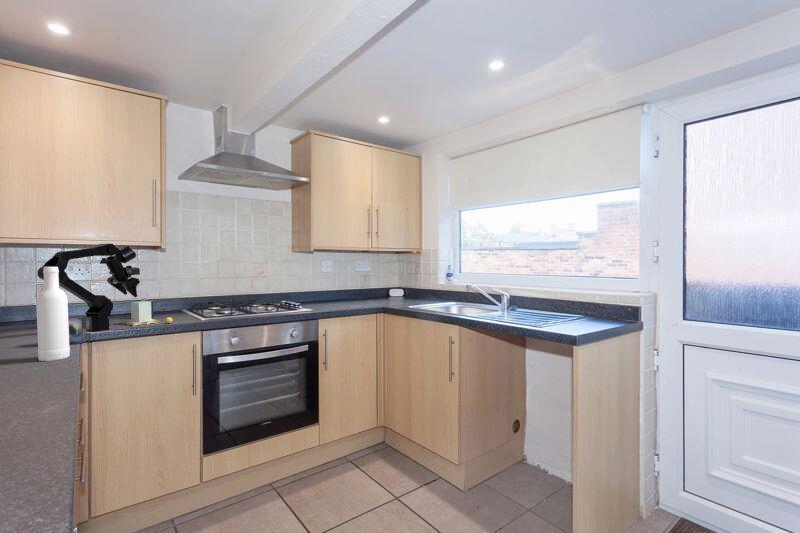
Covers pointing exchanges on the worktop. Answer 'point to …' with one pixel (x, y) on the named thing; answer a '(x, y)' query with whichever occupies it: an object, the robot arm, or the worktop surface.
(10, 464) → the worktop surface
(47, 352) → the bottle
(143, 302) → the pale green block
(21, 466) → the worktop surface
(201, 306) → the worktop surface
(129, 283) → the robot arm
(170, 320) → the marble
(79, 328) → the small box
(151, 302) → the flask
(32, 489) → the worktop surface
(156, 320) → the trivet
